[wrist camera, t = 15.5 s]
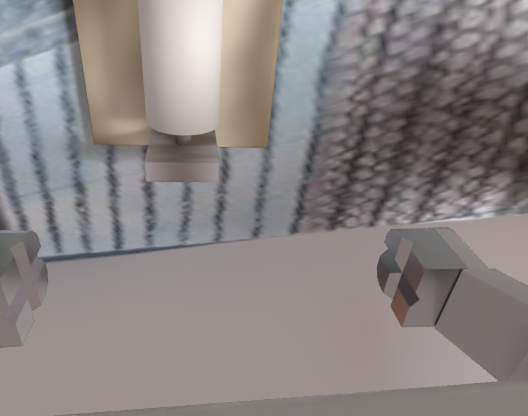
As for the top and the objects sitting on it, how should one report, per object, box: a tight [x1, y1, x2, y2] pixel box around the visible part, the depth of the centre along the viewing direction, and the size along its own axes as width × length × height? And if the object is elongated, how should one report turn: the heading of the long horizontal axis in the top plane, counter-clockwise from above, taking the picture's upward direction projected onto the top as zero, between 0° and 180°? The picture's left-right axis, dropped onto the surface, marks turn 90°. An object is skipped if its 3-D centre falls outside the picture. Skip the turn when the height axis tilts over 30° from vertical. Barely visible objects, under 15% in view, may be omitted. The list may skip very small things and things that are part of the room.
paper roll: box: [138, 0, 223, 135], centre depth 26 cm, size 11×5×5 cm
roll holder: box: [73, 0, 283, 182], centre depth 26 cm, size 14×16×7 cm
